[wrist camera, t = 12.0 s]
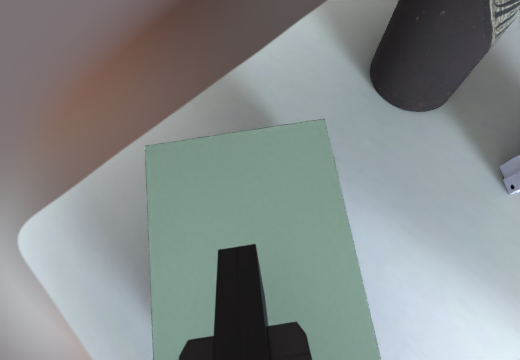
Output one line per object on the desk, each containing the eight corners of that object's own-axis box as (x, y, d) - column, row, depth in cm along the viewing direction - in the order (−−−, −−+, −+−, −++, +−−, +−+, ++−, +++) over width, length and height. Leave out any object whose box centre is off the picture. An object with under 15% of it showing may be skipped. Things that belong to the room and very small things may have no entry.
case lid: (148, 150, 25) (144, 145, 24) (323, 123, 25) (324, 118, 24) (159, 397, 20) (154, 402, 19) (378, 363, 20) (382, 366, 19)
